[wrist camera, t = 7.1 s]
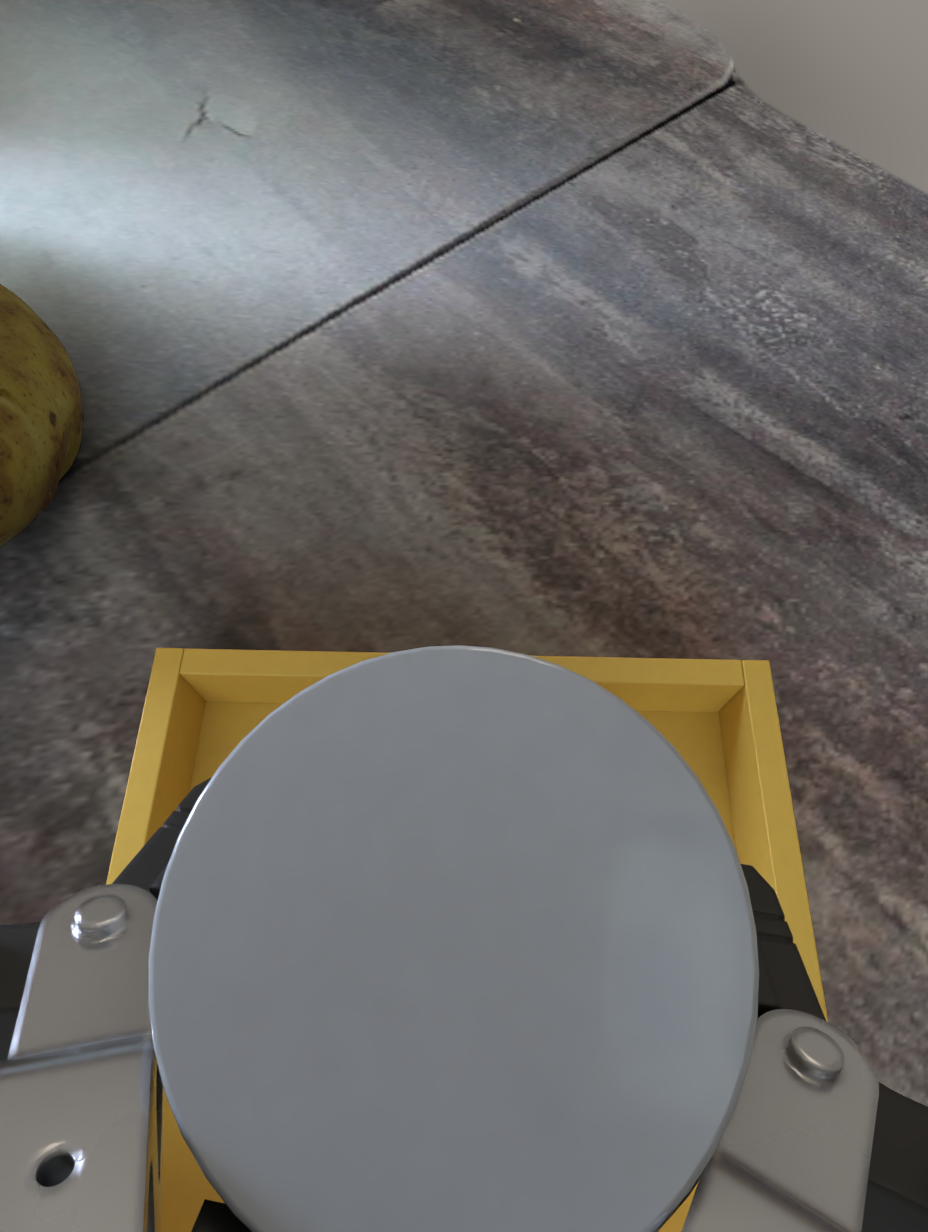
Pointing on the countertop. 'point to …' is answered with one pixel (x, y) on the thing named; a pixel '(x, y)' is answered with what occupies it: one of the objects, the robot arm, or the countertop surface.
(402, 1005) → the jar with grey lid
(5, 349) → the potato
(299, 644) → the countertop surface
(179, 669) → the tray
